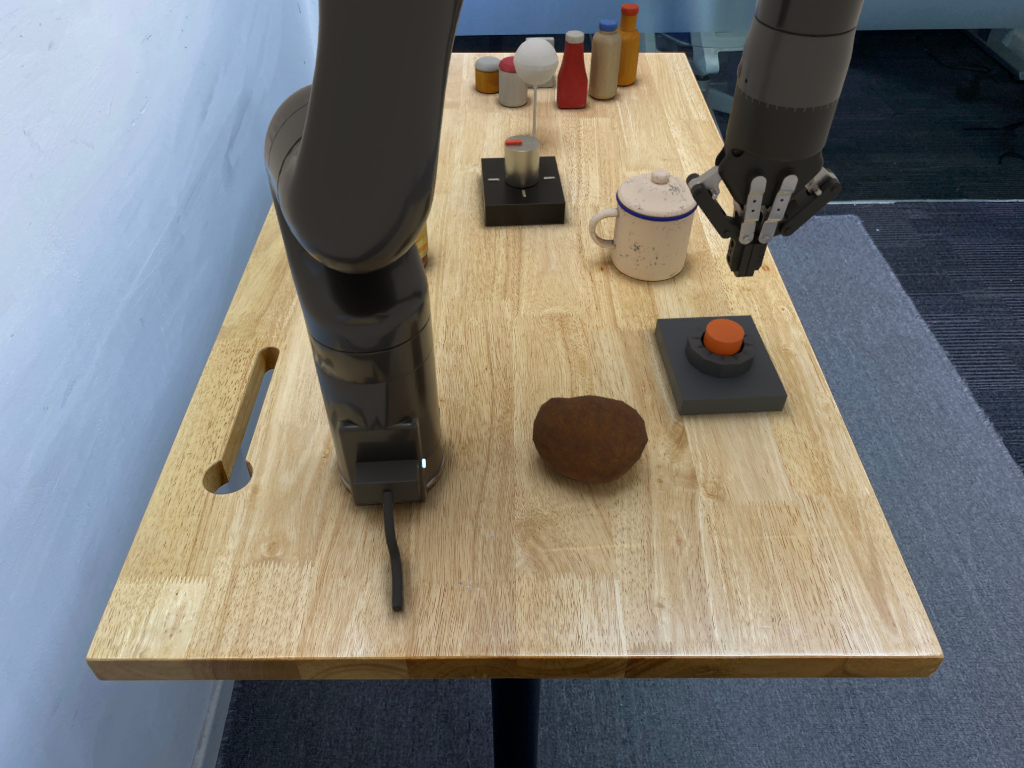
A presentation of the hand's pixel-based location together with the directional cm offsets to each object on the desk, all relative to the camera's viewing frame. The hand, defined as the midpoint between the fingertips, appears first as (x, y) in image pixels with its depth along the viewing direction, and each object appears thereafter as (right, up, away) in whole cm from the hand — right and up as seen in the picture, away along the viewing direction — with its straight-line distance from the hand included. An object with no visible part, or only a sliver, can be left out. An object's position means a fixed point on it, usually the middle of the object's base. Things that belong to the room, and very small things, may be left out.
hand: (741, 271), depth 69 cm
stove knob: (-19, +16, +30) cm, 39 cm away
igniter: (0, -9, +8) cm, 12 cm away
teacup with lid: (-6, +4, +22) cm, 23 cm away
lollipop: (-18, +25, +43) cm, 52 cm away
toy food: (-13, +37, +56) cm, 68 cm away
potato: (-14, -18, 0) cm, 23 cm away
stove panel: (-19, +14, +32) cm, 40 cm away
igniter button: (0, -6, +6) cm, 9 cm away
